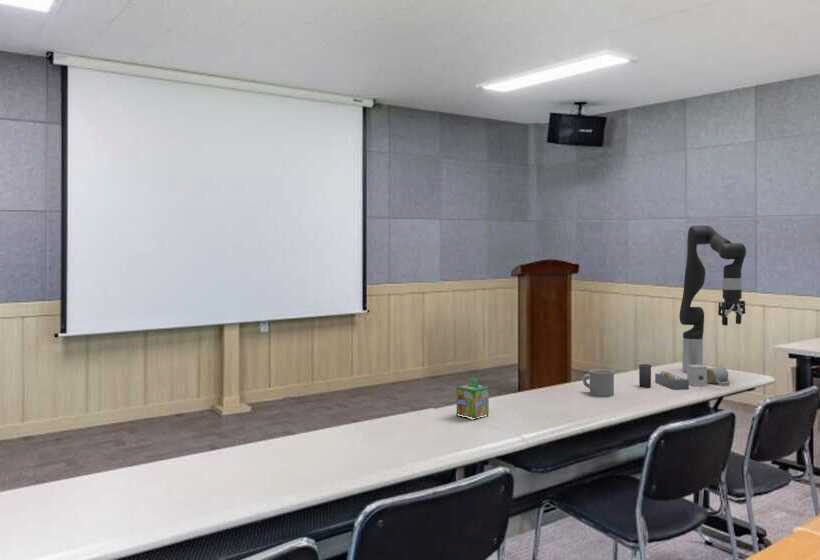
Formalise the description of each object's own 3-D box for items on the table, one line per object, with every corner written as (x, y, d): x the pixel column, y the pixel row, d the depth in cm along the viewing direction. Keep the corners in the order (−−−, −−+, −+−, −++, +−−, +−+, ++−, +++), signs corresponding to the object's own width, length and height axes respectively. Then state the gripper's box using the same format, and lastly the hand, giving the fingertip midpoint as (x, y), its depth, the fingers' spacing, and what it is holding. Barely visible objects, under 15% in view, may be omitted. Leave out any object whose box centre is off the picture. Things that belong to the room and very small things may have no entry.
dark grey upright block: (636, 385, 290) (636, 364, 290) (647, 385, 291) (647, 364, 290) (642, 388, 285) (642, 366, 284) (653, 387, 285) (653, 366, 285)
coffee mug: (618, 394, 274) (618, 371, 274) (605, 397, 268) (605, 374, 267) (592, 389, 284) (591, 367, 284) (578, 392, 278) (578, 370, 278)
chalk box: (455, 416, 242) (455, 378, 241) (471, 412, 248) (470, 374, 248) (474, 420, 235) (473, 381, 235) (489, 416, 242) (489, 377, 241)
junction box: (686, 383, 293) (686, 364, 293) (699, 383, 294) (699, 364, 293) (695, 386, 286) (695, 367, 285) (708, 386, 286) (708, 367, 286)
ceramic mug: (702, 382, 295) (702, 366, 295) (715, 380, 298) (716, 364, 298) (720, 386, 286) (720, 370, 285) (734, 385, 288) (734, 368, 288)
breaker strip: (655, 382, 298) (655, 370, 297) (669, 381, 298) (669, 369, 298) (673, 389, 281) (673, 377, 280) (688, 389, 281) (688, 376, 281)
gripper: (735, 287, 285) (735, 322, 286) (713, 288, 279) (713, 324, 280) (750, 288, 278) (750, 324, 279) (728, 289, 272) (727, 326, 273)
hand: (731, 324), depth 279 cm, fingers open, 8 cm apart
